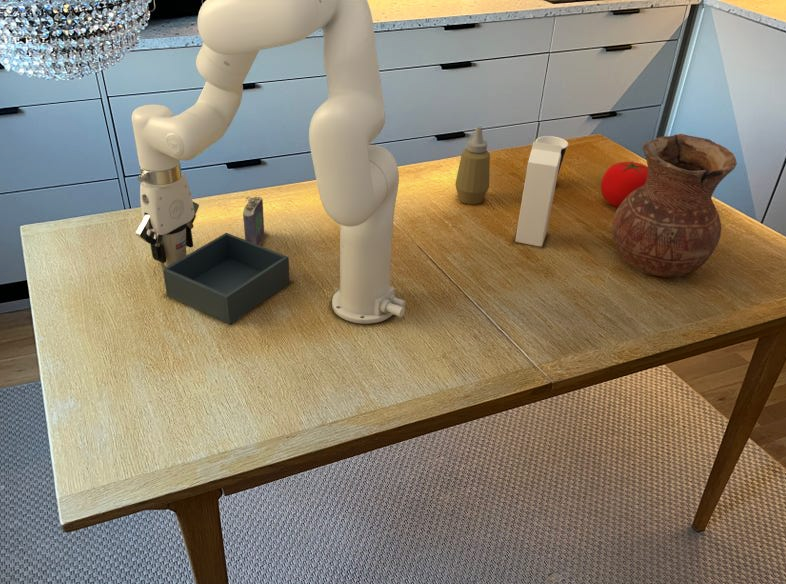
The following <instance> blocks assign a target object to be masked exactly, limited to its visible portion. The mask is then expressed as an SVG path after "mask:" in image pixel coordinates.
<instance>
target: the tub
mask: <svg viewBox="0 0 786 584" xmlns="http://www.w3.org/2000/svg"><path fill="white" fill-rule="evenodd" d="M289 261H290V259H289V256H287V255H285V254H282V253H280V252H277V251H274V250H272V249H270V248H267V247H265V246H262V245H260V246H259V245H257V244H254V243H252V242H249V241H246V240H245V238H241V237H238V236H236V235H233V234H231V233H228V232H225V233H223V234H221V235H219V236H218V237H216V238H214V239H213V240H211V241H209V242H207V243H206V244H204V245H202V246H201V247H199V248H197V249H195V250H193V251H192V252H190V253H188V254H186V256H185V257H183V258H181V259H180V260H178V261H176V262H174V263H173V264H171V265H169V266H167V267H166V266H165V267H164V268H162V274H163V280H164V285H165V291H166V296H167V297H168V298H171V299H173V300H174V301H177V302H180V303H182V304H184V305H185V306H188V307H190V308H193V309H195V310H197V311H200V312H202V313H204V314H205V315H208V316H210V317H212V318H215V319H217V320H218V321H221V322H223V323H226V324H228V325H231V324H233V323H234V322H236V321H237V320H239V319H240V318H241V317H243V316H244V315H246V314H247V313H249V312H250V311H252V310H253V309H254V308H256V307H257V306H258V305H260V304H261V303H263V302H264V301H266V300H267V299H269V298H270V297H272V296H274V295H275V294H276V293H278V292H279V291H280V290H282V289H283V288H285V287H286V286H287V285H289V284H290V282H291V280H290V278H291V277H290V262H289Z"/></svg>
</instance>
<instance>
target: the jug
mask: <svg viewBox="0 0 786 584" xmlns="http://www.w3.org/2000/svg"><path fill="white" fill-rule="evenodd" d="M641 150H642V151H643V153H644V156H645V160H646V164H647V165H646V166H647V167H648V175H647V180H646V183H645V184H644V185H643V186H641V187H639V188H637V189H636V190H634V191H633V192H631V193H630V194H629V195H628V196H627V197H626V198H625V199H624V200H623V201H622V203H621V204H620V205H619V207H618V208H617V209H616V210H615V213H614V216H613V220H612V228H611V229H612V239H613V241H614V245H615V248H616V249H617V252H618V253H619V255H620V257H621V258H622V259H623V260H624V262H626V263H627V264H628V265H629V266H630V267H632V268H634V269H635V270H637V271H639V272H641V273H643V274H646V275H649V276H655V277H661V278H677V277H682V276H684V275H688V274H689V273H691V272H693V271H696V270H697V269H699V268H700V267H702V266H703V265H704V264H705V263H706V262H707V261H708V260H709V258H710V257H711V256H712V255H713V253H714V251H715V249H716V248H717V247H718V244H719V242H720V238H721V235H722V223H721V218H720V214H719V212H718V210H717V207H716V205H715V203H714V201H713V200H712V198H713V194H714V193H715V190H716V189H717V187H718V186H719V184H720V183H721V182H722V181H723V180H724V178H726V177H727V176H728V175H729V174H730V173H732V171H734V170H735V169H736V166H737V164H738V162H737V159H736V157H735V155H734V153H733V152H732V151H730V150H729V149H728V148H726V147H725V146H723V145H721V144H720V143H717V142H714V141H712V140H711V139H708V138H706V137H698V136H695V135H689V134H684V133H678V134H676V133H675V134H673V135H670V136H669V135H665V136H664V135H663V136H658V137H655V138H654V139H652V140H648V141H647V140H646V142H644V143H643V145H642V149H641Z"/></svg>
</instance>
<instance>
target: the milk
mask: <svg viewBox="0 0 786 584" xmlns="http://www.w3.org/2000/svg"><path fill="white" fill-rule="evenodd" d="M561 149H562V147H561V146H558V145H552V144H545V143H539V142H535V141H533V143H532V146H531V150H530V154H529V158H528V160H527V167H526V171H525V179H524V186H523V191H522V197H521V204H520V208H519V216H518V220H517V221H518V222H517V226H516V227H517V228H516V234H515V239H514V241H515V243H520V244H523V245H529V246H535V247H543V245H544V242H545V239H546V237H547V234H548V233H547V232H548V227H549V222H550V218H551V211H552V206H553V201H554V196H555V190H556V185H557V180H558V177H557V175H558V176H559V173H558V170H559V165H560V160H561ZM559 171H560V170H559Z"/></svg>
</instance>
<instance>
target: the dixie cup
mask: <svg viewBox="0 0 786 584" xmlns="http://www.w3.org/2000/svg"><path fill="white" fill-rule="evenodd" d="M534 142H539V143H545V144H552V145H558V146H561V147H562V149H561V160H560V165H559V170H558V175H557V178H558V176H559V173H560V170H561V167H562V163H563V161H564V158H565V154H566V150H567V148H568V147H569V142H568V141H567V140H566V139H564V138H562V137H558V136H554V135H544V136H540V137H537V138H536V139H535V141H534Z"/></svg>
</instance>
